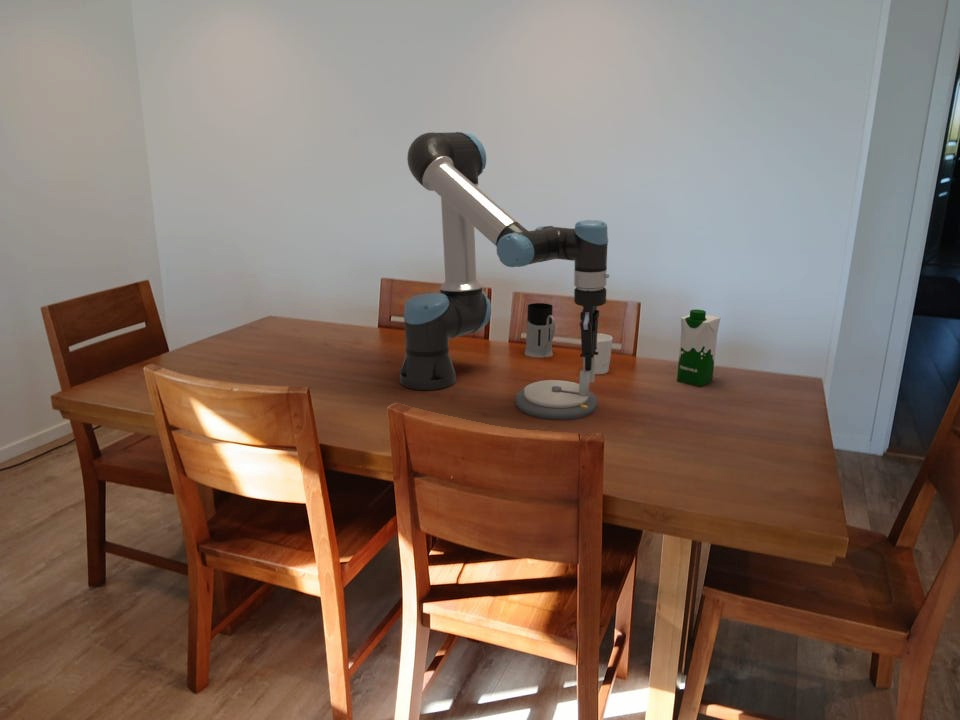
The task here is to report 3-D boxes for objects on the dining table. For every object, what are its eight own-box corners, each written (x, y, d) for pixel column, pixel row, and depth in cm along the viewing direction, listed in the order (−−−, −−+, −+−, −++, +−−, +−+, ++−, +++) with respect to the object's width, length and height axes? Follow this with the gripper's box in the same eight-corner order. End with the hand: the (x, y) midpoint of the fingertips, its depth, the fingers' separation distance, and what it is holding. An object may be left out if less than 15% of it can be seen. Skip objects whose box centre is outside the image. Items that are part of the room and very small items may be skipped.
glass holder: (545, 348, 228) (546, 301, 224) (566, 361, 215) (568, 312, 211) (519, 351, 225) (520, 303, 221) (539, 364, 213) (540, 314, 208)
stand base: (506, 413, 175) (506, 405, 174) (527, 387, 193) (527, 379, 193) (588, 424, 169) (589, 415, 168) (602, 395, 187) (603, 387, 187)
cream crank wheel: (514, 402, 177) (515, 372, 174) (536, 382, 191) (537, 354, 188) (578, 412, 170) (580, 382, 168) (597, 391, 184) (598, 362, 182)
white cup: (610, 376, 202) (612, 341, 199) (581, 374, 204) (583, 340, 201) (611, 367, 210) (613, 334, 207) (583, 365, 211) (585, 332, 208)
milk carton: (672, 381, 198) (678, 310, 192) (688, 373, 205) (694, 304, 199) (701, 388, 193) (709, 315, 187) (717, 380, 199) (725, 309, 193)
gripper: (602, 293, 165) (599, 391, 172) (610, 282, 176) (607, 373, 184) (569, 292, 167) (568, 388, 174) (579, 281, 179) (578, 371, 186)
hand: (588, 381), depth 179 cm, fingers closed
